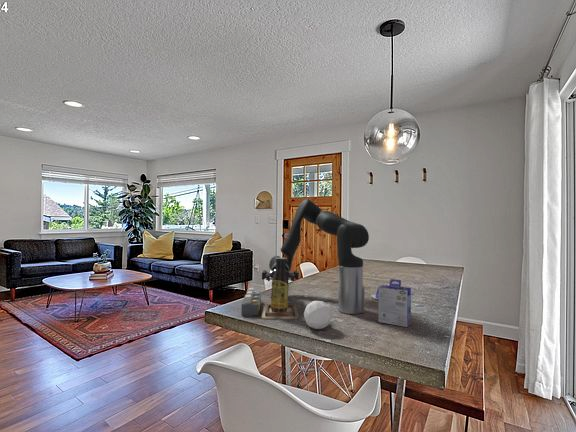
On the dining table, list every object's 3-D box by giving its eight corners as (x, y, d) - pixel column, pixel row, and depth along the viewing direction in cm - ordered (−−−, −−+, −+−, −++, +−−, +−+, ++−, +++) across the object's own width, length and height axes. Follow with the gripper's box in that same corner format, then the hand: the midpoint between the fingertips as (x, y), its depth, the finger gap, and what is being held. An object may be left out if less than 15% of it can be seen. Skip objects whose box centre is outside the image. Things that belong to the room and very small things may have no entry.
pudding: (379, 294, 150) (379, 283, 150) (403, 298, 141) (403, 287, 141) (365, 298, 142) (365, 286, 142) (390, 303, 133) (390, 291, 133)
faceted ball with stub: (333, 329, 95) (336, 321, 107) (324, 298, 97) (329, 294, 109) (306, 335, 97) (312, 327, 108) (298, 305, 99) (305, 301, 110)
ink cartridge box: (411, 323, 107) (411, 280, 107) (408, 328, 102) (408, 283, 102) (382, 318, 112) (382, 277, 112) (377, 322, 107) (378, 280, 108)
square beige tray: (296, 307, 124) (296, 303, 124) (298, 319, 110) (298, 313, 110) (263, 307, 124) (263, 303, 124) (261, 319, 110) (261, 313, 110)
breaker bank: (261, 302, 132) (261, 287, 132) (258, 315, 114) (259, 297, 114) (246, 302, 132) (246, 287, 132) (241, 315, 114) (241, 297, 114)
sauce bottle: (268, 312, 116) (268, 258, 116) (275, 308, 122) (275, 256, 122) (284, 314, 113) (284, 259, 114) (291, 310, 119) (291, 257, 120)
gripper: (263, 262, 133) (261, 268, 117) (297, 262, 133) (299, 268, 117) (263, 280, 133) (261, 288, 117) (297, 280, 133) (299, 288, 117)
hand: (280, 278), depth 117 cm, fingers open, 8 cm apart
